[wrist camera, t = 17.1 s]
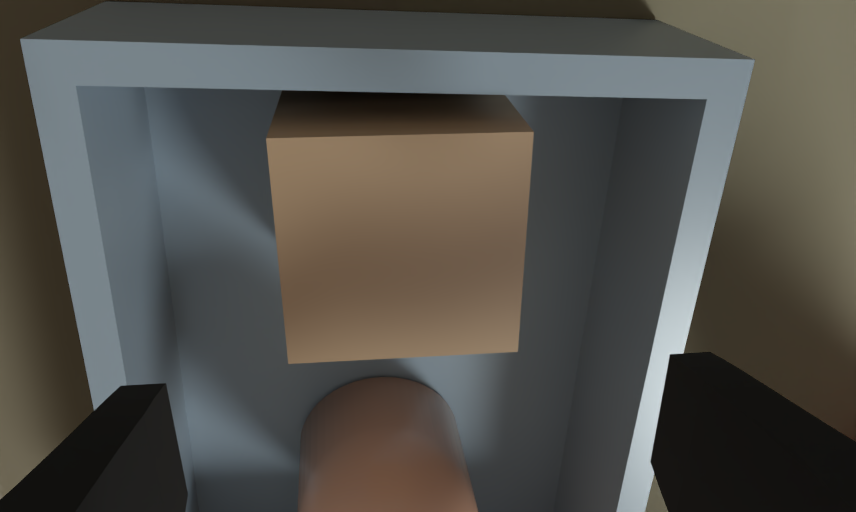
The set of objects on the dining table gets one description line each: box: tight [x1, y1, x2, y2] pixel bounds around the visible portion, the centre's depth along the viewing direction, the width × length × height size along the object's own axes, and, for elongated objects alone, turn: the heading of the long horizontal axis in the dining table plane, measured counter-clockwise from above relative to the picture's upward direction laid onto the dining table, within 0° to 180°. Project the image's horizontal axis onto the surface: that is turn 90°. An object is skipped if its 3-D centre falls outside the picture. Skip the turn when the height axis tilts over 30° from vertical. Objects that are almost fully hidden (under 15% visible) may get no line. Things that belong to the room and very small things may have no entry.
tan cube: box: [266, 90, 534, 364], centre depth 17 cm, size 5×5×5 cm
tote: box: [20, 1, 755, 512], centre depth 19 cm, size 18×14×5 cm
